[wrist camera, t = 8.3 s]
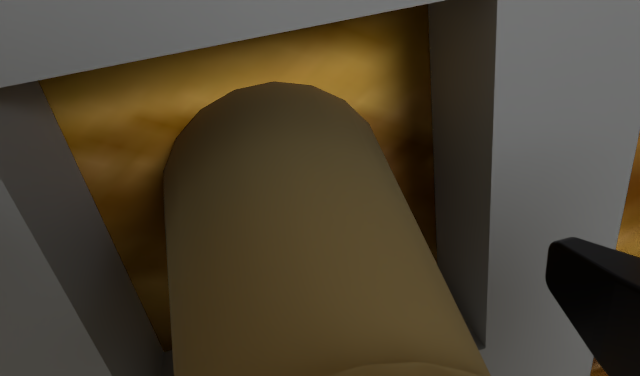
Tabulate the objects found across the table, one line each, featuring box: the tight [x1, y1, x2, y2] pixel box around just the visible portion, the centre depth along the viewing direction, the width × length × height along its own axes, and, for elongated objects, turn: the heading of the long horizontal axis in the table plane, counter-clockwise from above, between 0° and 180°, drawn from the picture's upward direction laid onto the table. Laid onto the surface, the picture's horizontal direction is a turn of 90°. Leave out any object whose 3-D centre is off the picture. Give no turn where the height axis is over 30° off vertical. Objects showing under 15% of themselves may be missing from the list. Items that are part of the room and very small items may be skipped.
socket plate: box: [0, 0, 640, 376], centre depth 11 cm, size 16×16×3 cm
